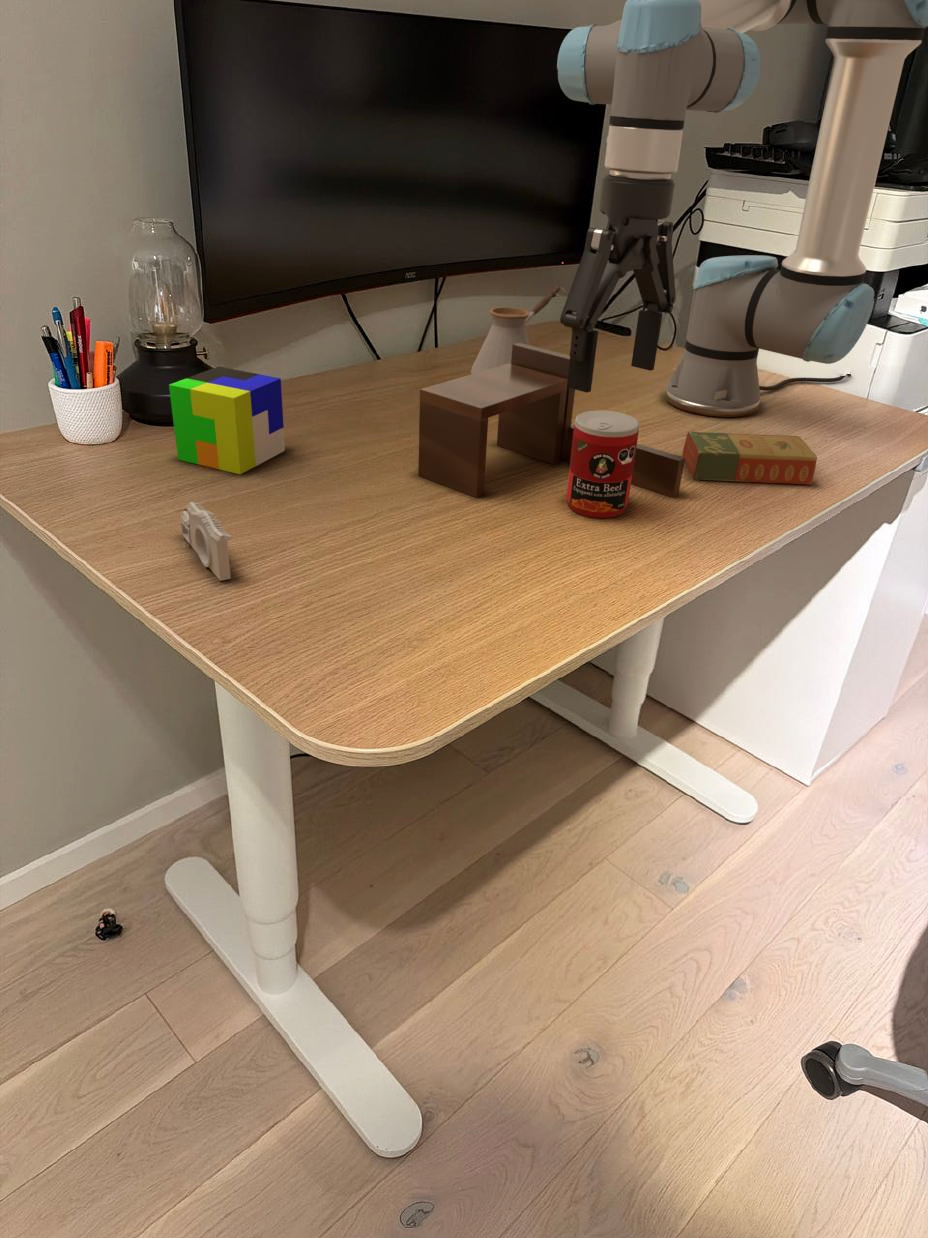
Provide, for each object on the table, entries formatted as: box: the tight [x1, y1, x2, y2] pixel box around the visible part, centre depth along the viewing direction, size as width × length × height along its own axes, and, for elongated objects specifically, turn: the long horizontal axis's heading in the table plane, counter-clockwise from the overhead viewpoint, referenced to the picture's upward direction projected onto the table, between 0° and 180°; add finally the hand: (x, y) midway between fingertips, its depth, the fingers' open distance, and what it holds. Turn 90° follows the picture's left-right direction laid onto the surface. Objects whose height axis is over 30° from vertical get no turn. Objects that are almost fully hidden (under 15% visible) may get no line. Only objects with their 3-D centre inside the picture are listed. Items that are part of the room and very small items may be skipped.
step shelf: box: [417, 343, 685, 498], centre depth 115 cm, size 20×28×14 cm
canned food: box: [565, 410, 640, 519], centre depth 111 cm, size 8×8×11 cm
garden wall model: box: [178, 501, 232, 582], centre depth 95 cm, size 12×2×6 cm, turn 33°
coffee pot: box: [470, 284, 567, 375], centre depth 153 cm, size 21×12×15 cm, turn 143°
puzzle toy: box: [168, 366, 286, 475], centre depth 120 cm, size 10×10×10 cm
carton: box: [681, 430, 818, 485], centre depth 125 cm, size 8×16×4 cm, turn 88°
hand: (611, 378), depth 105 cm, fingers open, 13 cm apart
